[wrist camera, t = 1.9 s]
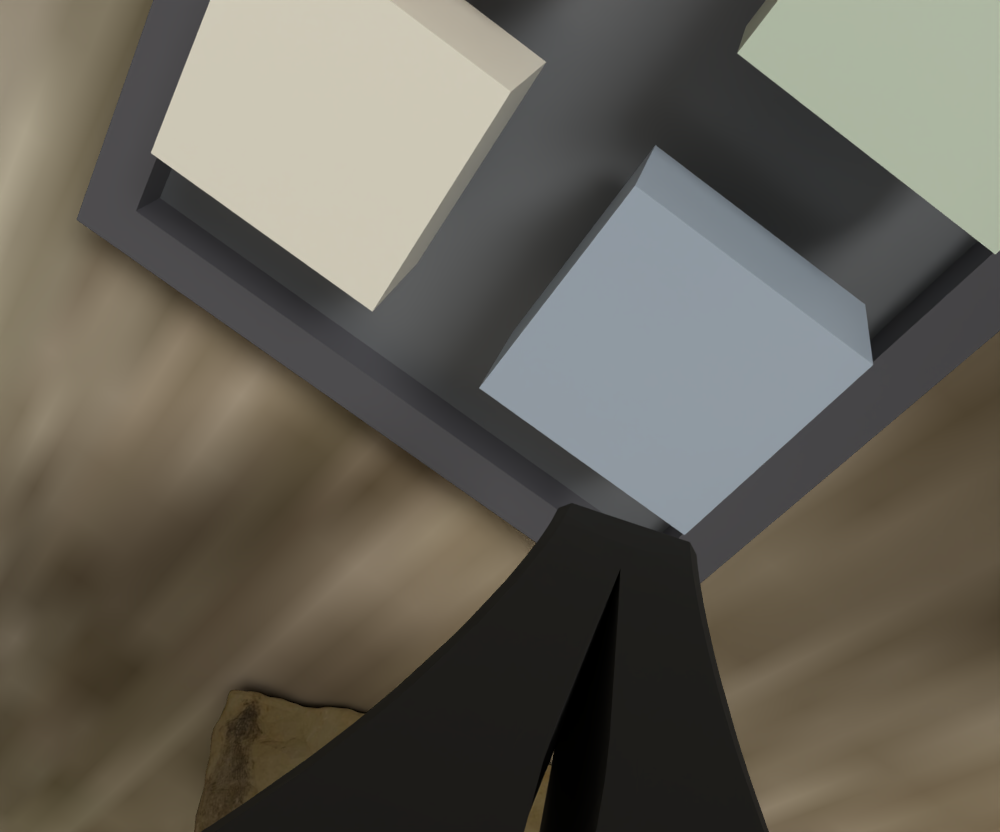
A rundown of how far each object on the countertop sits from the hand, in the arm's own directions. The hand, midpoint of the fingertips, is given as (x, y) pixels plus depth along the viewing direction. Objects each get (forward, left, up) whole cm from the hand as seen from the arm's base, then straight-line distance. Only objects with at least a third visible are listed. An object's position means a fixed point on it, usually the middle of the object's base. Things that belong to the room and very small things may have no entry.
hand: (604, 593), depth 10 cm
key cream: (+6, 0, -7) cm, 9 cm away
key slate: (0, 0, -7) cm, 7 cm away
